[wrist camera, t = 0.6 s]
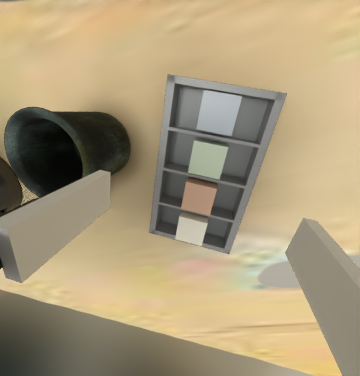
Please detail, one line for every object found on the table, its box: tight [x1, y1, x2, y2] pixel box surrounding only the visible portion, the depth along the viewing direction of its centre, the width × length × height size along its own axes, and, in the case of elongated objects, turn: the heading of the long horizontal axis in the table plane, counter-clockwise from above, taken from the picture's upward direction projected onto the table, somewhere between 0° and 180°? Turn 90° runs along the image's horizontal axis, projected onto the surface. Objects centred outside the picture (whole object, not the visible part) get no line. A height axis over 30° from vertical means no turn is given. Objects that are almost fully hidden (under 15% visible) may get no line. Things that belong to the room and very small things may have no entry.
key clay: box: [181, 177, 217, 216], centre depth 27 cm, size 4×4×2 cm
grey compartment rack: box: [149, 74, 287, 254], centre depth 28 cm, size 14×24×4 cm, turn 170°
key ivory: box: [175, 210, 208, 246], centre depth 30 cm, size 4×4×2 cm
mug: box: [4, 107, 130, 197], centre depth 27 cm, size 11×15×12 cm
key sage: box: [188, 138, 228, 180], centre depth 25 cm, size 4×4×2 cm
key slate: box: [196, 90, 242, 136], centre depth 23 cm, size 4×4×2 cm
